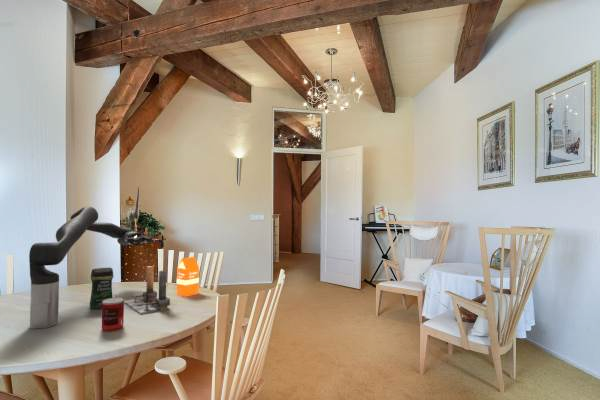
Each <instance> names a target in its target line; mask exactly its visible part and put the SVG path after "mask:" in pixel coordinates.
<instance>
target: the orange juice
mask: <svg viewBox="0 0 600 400" xmlns="http://www.w3.org/2000/svg"><path fill="white" fill-rule="evenodd" d="M176 270H177V271H176V295H177V296H181V297H188V296H192V295H193V296H194V295H197V294H199V293H200V291H199V290H200V289H199V288H200V285H199V284H200V283H199V282H200V267H199V264H198V263H197V260H196V257H195V256H191V257H184V258H181V259H180V261H179V263H178V266H177V268H176Z"/></svg>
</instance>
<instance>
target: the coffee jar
mask: <svg viewBox="0 0 600 400" xmlns="http://www.w3.org/2000/svg"><path fill="white" fill-rule="evenodd" d="M113 279H114V270H113V268H112V267H98V268H97V267H96V268H93V269H91V272H90V280H91V292H90V293H91V294H90V298H89V308H90V309H93V310H97V309H102V301H103V300H106V299H110V298H114V297H113V290H112V289H113V287H112V285H113V283H112V282H113Z"/></svg>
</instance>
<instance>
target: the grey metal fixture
mask: <svg viewBox="0 0 600 400" xmlns="http://www.w3.org/2000/svg"><path fill="white" fill-rule="evenodd" d="M144 300H145V299H144V298H143V297H142V300H141V299H140V298H136V302H134V299H130V300H124V305H126V306H128V307H130V308H131V309H132V310H133V311H135V312H136V313H137V314H139V315H146V314H150V313H151V314H152V313H156V312H157V310H159V311H166V310H168V307H169V306H170V305H171V298H169V297H168V296H167V270H159V271H158V297H157V298H155V297H149V298H148V300H145V302H144ZM157 308H158V309H157Z"/></svg>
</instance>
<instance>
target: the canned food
mask: <svg viewBox="0 0 600 400" xmlns="http://www.w3.org/2000/svg"><path fill="white" fill-rule="evenodd" d="M124 301H125V300H124V298H121V297H113V298H110V299H106V300H103V301H102V308H101V330H102V331H103V332H115V331H119V330H121V329H122V328H123V327H124V323H125V322H124V318H125V317H124V316H125V313H124V311H125V310H124V309H125V303H124Z"/></svg>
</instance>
